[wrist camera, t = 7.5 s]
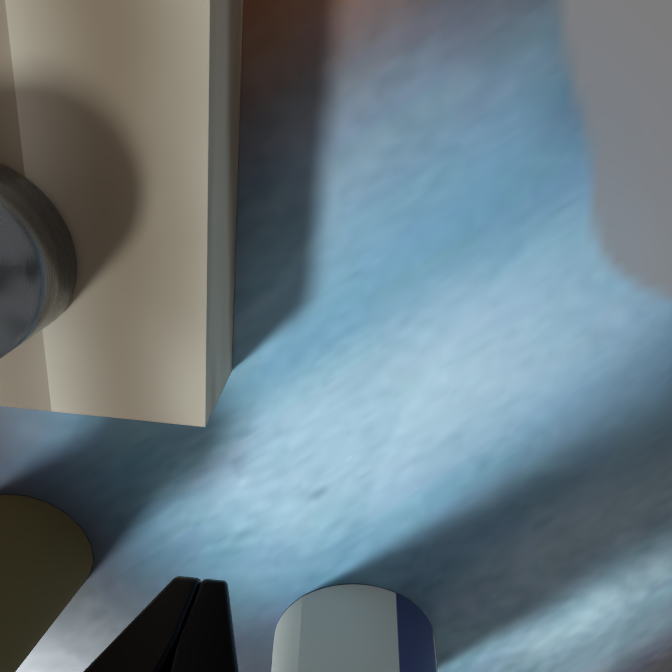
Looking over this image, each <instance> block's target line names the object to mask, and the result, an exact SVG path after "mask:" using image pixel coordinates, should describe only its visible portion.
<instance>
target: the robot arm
mask: <svg viewBox="0 0 672 672" xmlns="http://www.w3.org/2000/svg"><path fill="white" fill-rule="evenodd" d="M84 672H239V671H238V663H237V655H236V647H235V639H234V631H233V623H232V615H231V607H230V599H229V591H228V584H227V582H226V581H223V580H213V579H204V580H203V581H202V582H201V580H200V579H198V578H193V577H183V576H178V577H176V578H174V579H173V580H172V581H171V582H170V583H169V584H168V585H167V586H166V587H165V588H164V589H163V590H162V591H161V592H160V593H159V594H158V595H157V596H156V597H155V598H154V599H153V600H152V602H151V603H150V604H149V605H148V606H147V607H146V608H145V609H144V610H143V611H142V612H141V613H140V614H139V615H138V616H137V617H136V618H135V619H134V620H133V621H132V622H131V623H130V624H129V625H128V626H127V627H126V628H125V629H124V630H123V631H122V633H121V634H120V635H119V636H118V637H117V638H116V639H115V640H114V641H113V642H112V643H111V644H110V645H109V646H108V647H107V648H106V649H105V650H104V651H103V652H102V653H101V654H100V655H99V656H98V657H97V658H96V659H95V660H94V661H93V662H92V664H91V665H90V666H89V667H88V668H87V669H86V670H85V671H84Z"/></svg>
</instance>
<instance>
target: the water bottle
mask: <svg viewBox="0 0 672 672" xmlns="http://www.w3.org/2000/svg"><path fill="white" fill-rule="evenodd" d="M271 672H437V660H436V648H435V638H434V633H433V629H432V627H431V624H430V622H429V621H428V619H427V617H426V616H425V615H424V613H423V612H422V611H421V610H420V609H419V608H418V607H417V606H416V605H414V604H413V603H412V602H410V601H409V600H408V599H406V598H404V597H403V596H401V595H399V594H396V593H394V592H392V591H389V590H386V589H383V588H379V587H375V586H369V585H359V584H346V585H336V586H331V587H326V588H322V589H319V590H316V591H314V592H311V593H309V594H307V595H305V596H303V597H301V598H300V599H298V600H297V601H296V602H294V603H293V604H292V605H291V606H290V607H289V608H288V609H287V610H286V611H285V612H284V614H283V615H282V616H281V618H280V620H279V622H278V624H277V627H276V630H275V636H274V647H273V658H272V669H271Z"/></svg>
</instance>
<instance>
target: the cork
mask: <svg viewBox="0 0 672 672" xmlns="http://www.w3.org/2000/svg"><path fill="white" fill-rule="evenodd" d="M92 564H93V556H92V549H91V544H90V543H89V541H88V539H87V537H86V535H85V534H84V532H83V530H82V529H81V528H80V527H79V526H78V525H77V524H76V523H75V522H74V521H73V520H72V519H71V518H70V517H69V516H68V515H67V514H66V513H64V512H62V511H61V510H59V509H57V508H56V507H54V506H52V505H50V504H49V503H47V502H43V501H40V500H37V499H34V498H31V497H27V496H19V495H0V672H15V671H16V670H17V669H18V668H19V666H20V665H21V664H22V662H23V661H24V660H25V658H26V657H27V656H28V655H29V653H30V652H31V651H32V649H33V648H34V647H35V646H36V644H37V643H38V642H39V640H40V639H41V638H42V637H43V635H44V634H45V633H46V631H47V630H48V629H49V627H50V626H51V625H52V624H53V622H54V621H55V620H56V618H57V617H58V616H59V615H60V613H61V612H62V611H63V609H64V608H65V607H66V605H67V604H68V603H69V602H70V600H71V599H72V598H73V596H74V595H75V594H76V593H77V591H78V590H79V589H80V587H81V586H82V585H83V584H84V582H85V581H86V580H87V578H88V577H89V575H90V572H91V568H92Z"/></svg>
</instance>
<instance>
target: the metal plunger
mask: <svg viewBox="0 0 672 672" xmlns="http://www.w3.org/2000/svg"><path fill="white" fill-rule="evenodd" d="M76 278H77V258H76V252H75V247H74V244H73V240H72V237H71V234H70V232H69V230H68V227H67V225H66V223H65V221H64V220H63V218H62V216H61V214H60V213H59V211H58V210H57V209H56V207H55V206H54V204H53V203H52V202H51V201H50V199H49V198H48V197H47V196H46V195H45V194H44V193H43V192H42V191H41V190H40V189H39V188H38V187H37V186H36V185H35V184H34V183H32V182H31V181H30V180H28V179H27V178H26V177H24V176H23V175H21V174H20V173H18V172H16V171H15V170H13V169H11V168H9V167H7V166H5V165H3V164H0V358H2V357H3V356H5V355H6V354H8V353H9V352H10V351H12V350H13V349H15V348H16V347H18V346H19V345H21V344H22V343H23V342H25V341H26V340H28V339H29V338H31V337H32V336H33V335H35V334H36V333H38V332H39V331H41V330H42V329H44V328H45V327H46V326H48V325H49V324H51V323H52V322H53V321H54V320H56V319H57V318H58V317H59V316H60V315H61V313H62V312H63V311H64V310H65V308H66V307H67V305H68V304H69V302H70V299H71V297H72V295H73V292H74V288H75V285H76Z"/></svg>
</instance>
